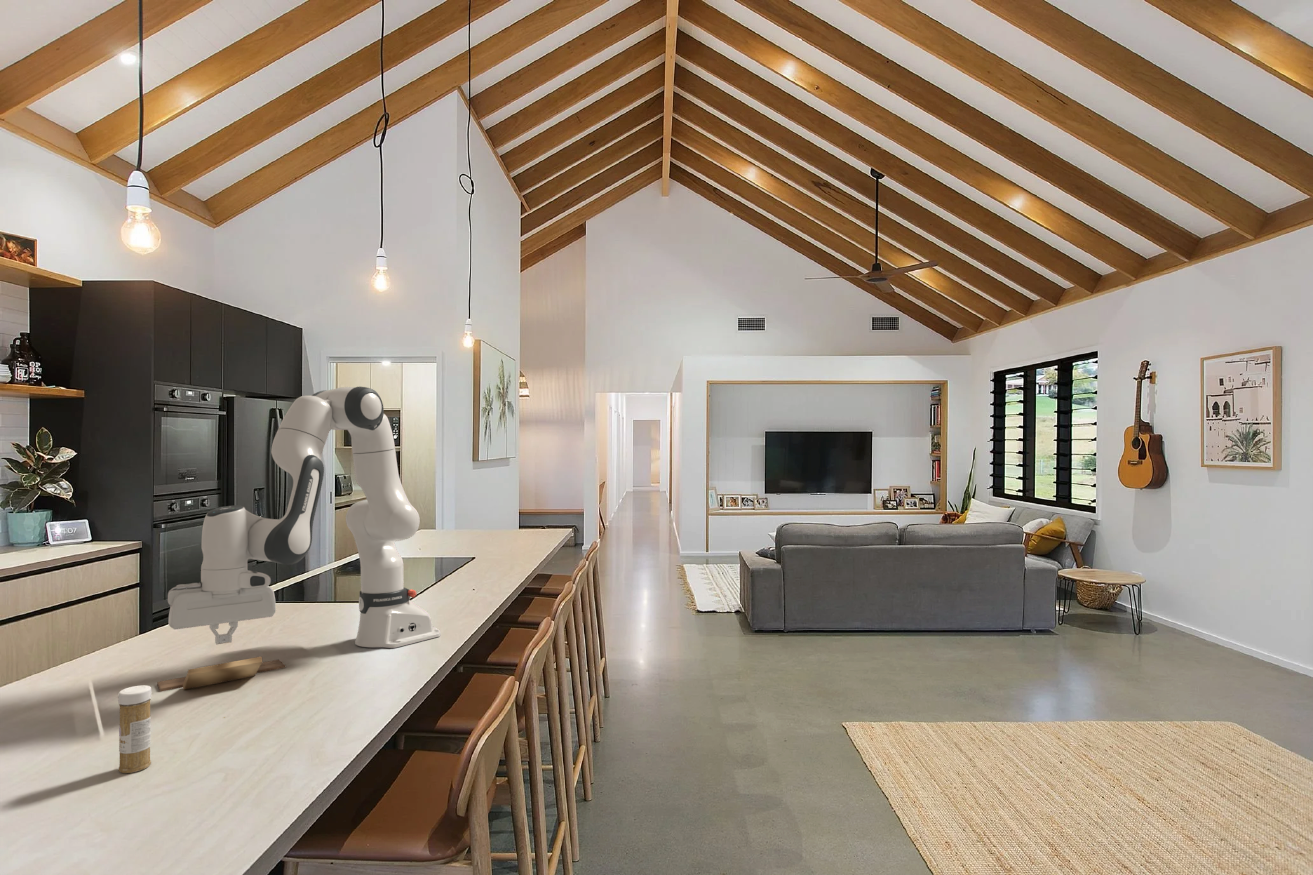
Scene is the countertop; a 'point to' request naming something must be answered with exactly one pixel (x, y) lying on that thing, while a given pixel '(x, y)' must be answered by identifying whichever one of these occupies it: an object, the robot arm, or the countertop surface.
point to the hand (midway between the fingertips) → (223, 642)
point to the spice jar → (134, 728)
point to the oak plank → (222, 672)
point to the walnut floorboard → (180, 681)
